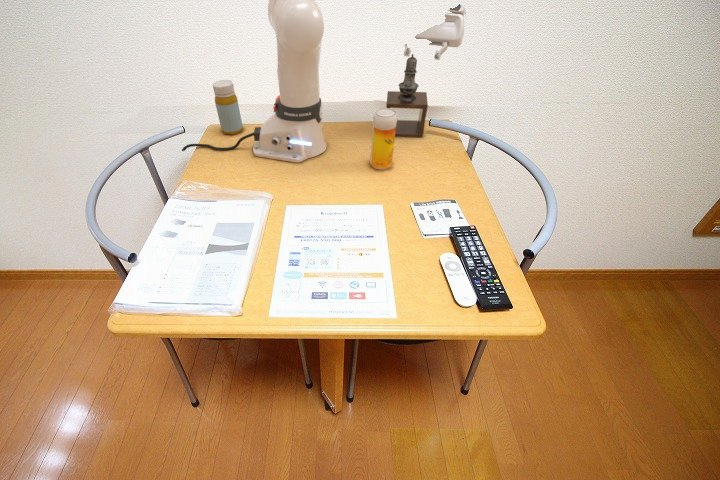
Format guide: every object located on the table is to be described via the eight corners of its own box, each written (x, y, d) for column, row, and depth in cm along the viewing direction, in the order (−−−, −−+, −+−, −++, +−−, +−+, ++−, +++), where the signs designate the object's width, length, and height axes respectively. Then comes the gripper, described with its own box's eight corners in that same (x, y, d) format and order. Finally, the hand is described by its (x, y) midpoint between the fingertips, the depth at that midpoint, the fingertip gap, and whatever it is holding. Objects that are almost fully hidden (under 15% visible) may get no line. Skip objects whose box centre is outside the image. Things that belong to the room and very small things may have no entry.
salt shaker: (416, 101, 108) (423, 57, 100) (396, 101, 109) (401, 56, 101) (417, 94, 112) (423, 50, 104) (397, 93, 113) (402, 50, 105)
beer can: (392, 170, 101) (399, 116, 90) (370, 170, 101) (374, 117, 90) (390, 159, 105) (396, 106, 94) (369, 159, 105) (372, 107, 94)
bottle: (217, 132, 121) (206, 85, 110) (231, 124, 125) (221, 78, 114) (233, 137, 118) (223, 89, 107) (247, 128, 122) (238, 81, 111)
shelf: (383, 135, 115) (386, 103, 108) (384, 122, 122) (387, 91, 115) (422, 137, 114) (427, 104, 106) (421, 123, 120) (426, 92, 113)
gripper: (401, 2, 110) (387, 47, 111) (470, 5, 103) (454, 54, 104) (404, 16, 116) (390, 59, 117) (469, 20, 109) (454, 66, 110)
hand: (421, 57), depth 110 cm, fingers open, 8 cm apart
